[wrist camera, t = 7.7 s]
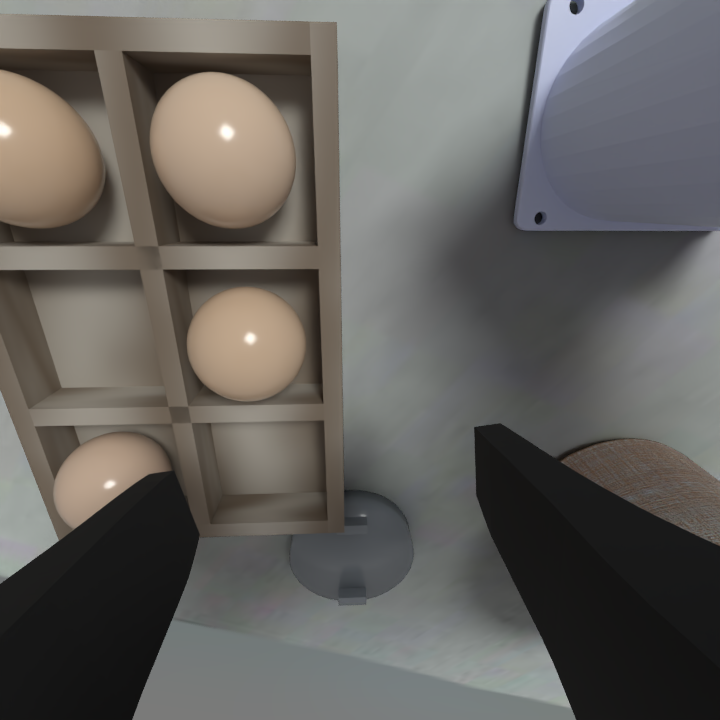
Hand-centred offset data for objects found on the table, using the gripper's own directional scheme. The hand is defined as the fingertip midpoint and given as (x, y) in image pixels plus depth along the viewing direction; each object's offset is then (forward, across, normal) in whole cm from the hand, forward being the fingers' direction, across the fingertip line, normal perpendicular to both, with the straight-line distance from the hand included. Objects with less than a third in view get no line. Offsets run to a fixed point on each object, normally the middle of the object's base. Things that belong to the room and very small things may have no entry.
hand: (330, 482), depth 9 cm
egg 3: (+9, +2, -8) cm, 12 cm away
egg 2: (+9, +10, +4) cm, 14 cm away
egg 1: (+9, +8, -9) cm, 15 cm away
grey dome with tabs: (+10, +1, +12) cm, 16 cm away
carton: (+10, +6, -2) cm, 12 cm away
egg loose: (+9, +3, -2) cm, 9 cm away
